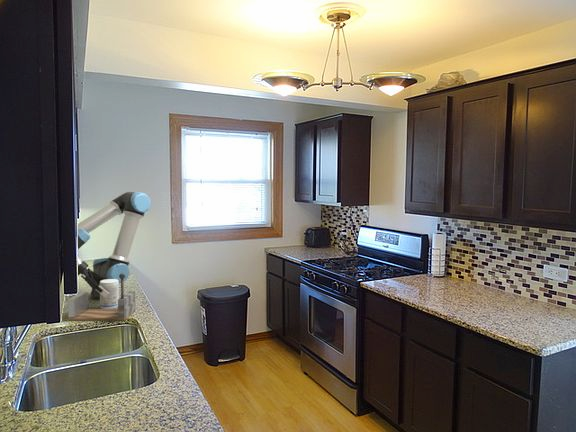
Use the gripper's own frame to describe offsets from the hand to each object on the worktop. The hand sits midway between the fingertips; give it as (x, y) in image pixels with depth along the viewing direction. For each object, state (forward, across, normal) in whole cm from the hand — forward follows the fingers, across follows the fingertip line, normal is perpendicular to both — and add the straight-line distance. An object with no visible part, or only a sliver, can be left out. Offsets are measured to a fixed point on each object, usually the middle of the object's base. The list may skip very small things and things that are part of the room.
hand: (108, 292), depth 221 cm
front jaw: (-4, +12, -14) cm, 19 cm away
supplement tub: (+6, 0, -6) cm, 9 cm away
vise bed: (+5, +14, -7) cm, 17 cm away
